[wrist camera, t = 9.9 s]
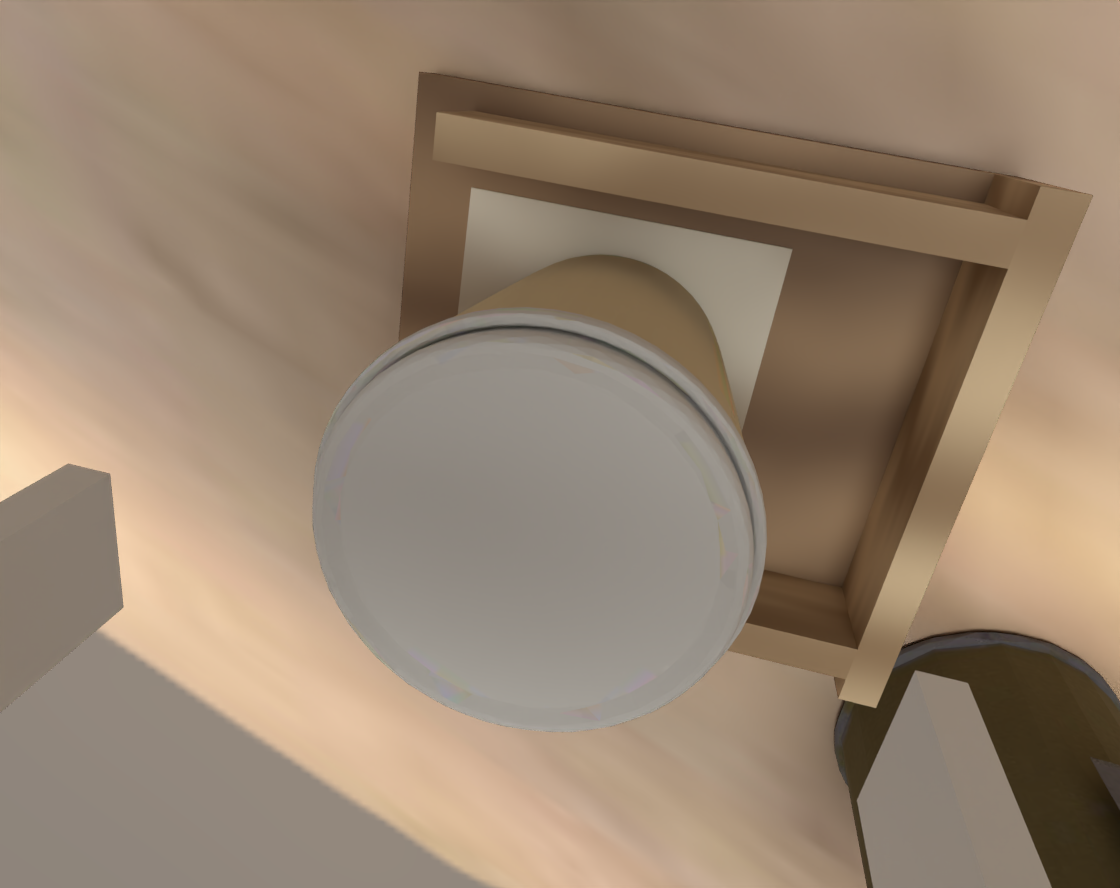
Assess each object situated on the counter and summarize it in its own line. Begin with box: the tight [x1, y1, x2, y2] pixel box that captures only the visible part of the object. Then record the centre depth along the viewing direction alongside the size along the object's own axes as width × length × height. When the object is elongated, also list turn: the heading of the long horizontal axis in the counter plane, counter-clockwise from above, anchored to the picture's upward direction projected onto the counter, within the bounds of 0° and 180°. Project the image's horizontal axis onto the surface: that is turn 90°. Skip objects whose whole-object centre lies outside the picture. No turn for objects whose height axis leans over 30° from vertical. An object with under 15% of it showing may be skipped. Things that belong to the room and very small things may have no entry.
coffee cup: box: [313, 255, 767, 732], centre depth 21 cm, size 9×9×12 cm
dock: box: [399, 72, 1093, 708], centre depth 25 cm, size 16×18×5 cm
